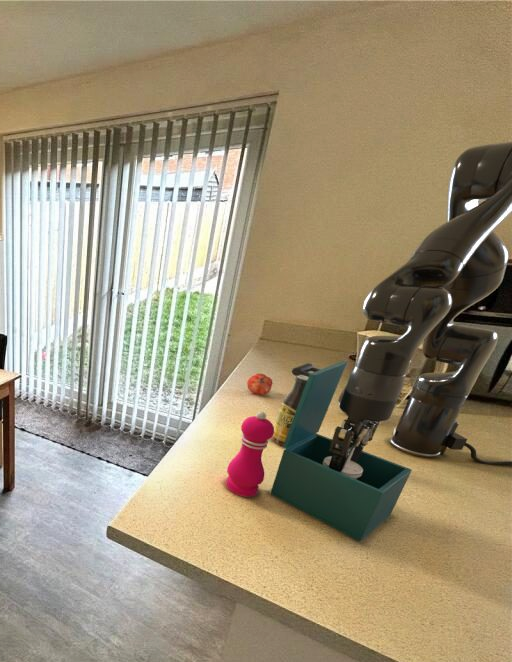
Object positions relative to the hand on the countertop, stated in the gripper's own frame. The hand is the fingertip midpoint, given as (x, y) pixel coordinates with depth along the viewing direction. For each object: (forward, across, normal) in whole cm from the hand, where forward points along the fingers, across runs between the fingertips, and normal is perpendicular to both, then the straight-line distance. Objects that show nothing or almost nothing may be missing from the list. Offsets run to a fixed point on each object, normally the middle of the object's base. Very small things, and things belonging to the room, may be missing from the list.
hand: (343, 464), depth 81 cm
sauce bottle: (+11, +19, +18) cm, 28 cm away
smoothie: (+10, 0, 0) cm, 10 cm away
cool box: (+11, 0, 0) cm, 11 cm away
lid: (-10, 0, +8) cm, 13 cm away
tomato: (+11, +46, +41) cm, 62 cm away
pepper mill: (+11, -10, +13) cm, 20 cm away
